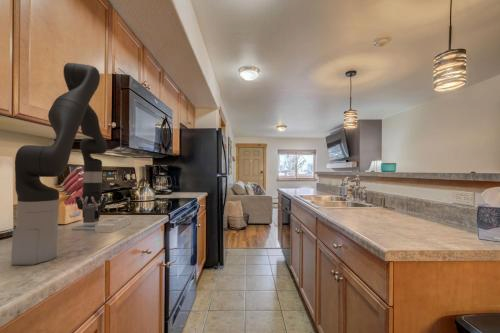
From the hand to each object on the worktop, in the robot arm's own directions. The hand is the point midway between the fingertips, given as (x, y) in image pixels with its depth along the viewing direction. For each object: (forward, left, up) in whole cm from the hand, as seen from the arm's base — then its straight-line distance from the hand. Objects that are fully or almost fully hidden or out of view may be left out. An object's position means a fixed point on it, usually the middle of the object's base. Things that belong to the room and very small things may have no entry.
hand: (91, 218), depth 111 cm
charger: (0, 0, -1) cm, 1 cm away
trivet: (0, 0, -4) cm, 4 cm away
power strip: (0, -11, -4) cm, 11 cm away
